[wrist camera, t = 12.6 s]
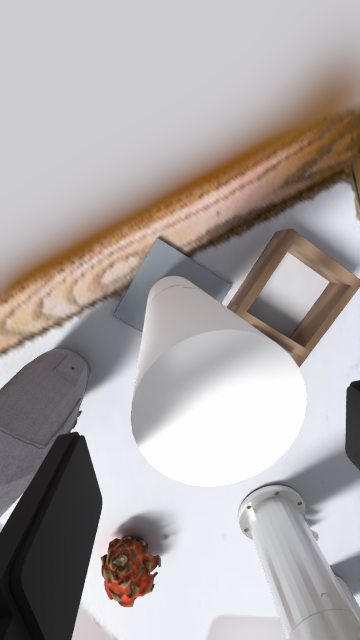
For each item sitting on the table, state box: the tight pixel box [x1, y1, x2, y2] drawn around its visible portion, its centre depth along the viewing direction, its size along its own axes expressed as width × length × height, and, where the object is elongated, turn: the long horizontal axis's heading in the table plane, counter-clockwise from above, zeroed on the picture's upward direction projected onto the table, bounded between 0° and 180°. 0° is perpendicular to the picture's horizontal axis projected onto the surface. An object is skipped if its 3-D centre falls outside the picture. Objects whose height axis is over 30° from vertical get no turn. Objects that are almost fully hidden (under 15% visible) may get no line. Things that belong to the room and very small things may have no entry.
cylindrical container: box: [131, 276, 307, 486], centre depth 22 cm, size 7×7×25 cm
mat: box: [113, 238, 232, 332], centre depth 34 cm, size 12×12×1 cm
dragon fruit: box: [101, 537, 161, 607], centre depth 42 cm, size 8×8×12 cm
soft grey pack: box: [0, 348, 90, 517], centre depth 27 cm, size 15×8×20 cm, turn 142°
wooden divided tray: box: [227, 229, 360, 367], centre depth 32 cm, size 12×24×10 cm, turn 148°
